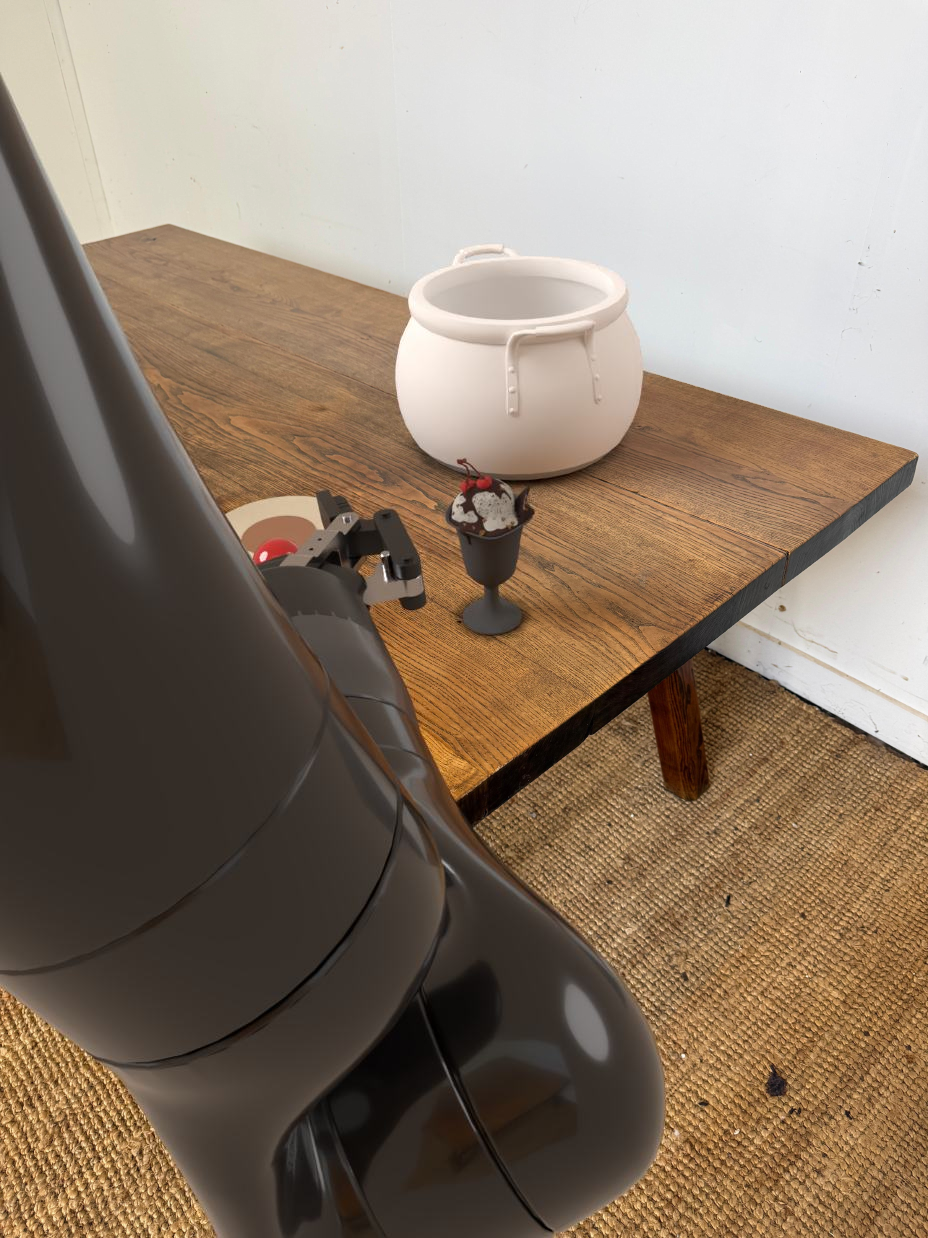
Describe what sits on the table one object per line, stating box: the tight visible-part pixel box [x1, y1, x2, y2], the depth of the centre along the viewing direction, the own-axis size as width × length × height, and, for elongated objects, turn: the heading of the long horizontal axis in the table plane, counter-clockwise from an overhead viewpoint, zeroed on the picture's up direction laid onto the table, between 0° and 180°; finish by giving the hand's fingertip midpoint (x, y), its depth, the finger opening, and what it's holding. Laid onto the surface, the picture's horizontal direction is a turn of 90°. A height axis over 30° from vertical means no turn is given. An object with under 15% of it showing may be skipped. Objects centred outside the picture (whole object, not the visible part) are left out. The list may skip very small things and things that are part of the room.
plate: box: [225, 495, 325, 559], centre depth 83 cm, size 15×15×1 cm
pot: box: [394, 243, 644, 481], centre depth 94 cm, size 29×26×17 cm
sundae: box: [444, 458, 536, 636], centre depth 69 cm, size 7×7×15 cm
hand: (246, 525), depth 47 cm, fingers open, 8 cm apart
